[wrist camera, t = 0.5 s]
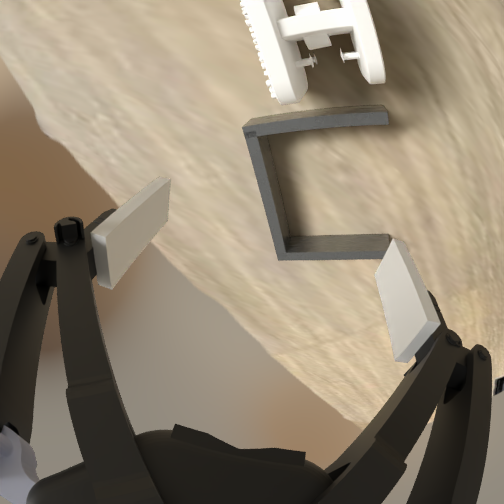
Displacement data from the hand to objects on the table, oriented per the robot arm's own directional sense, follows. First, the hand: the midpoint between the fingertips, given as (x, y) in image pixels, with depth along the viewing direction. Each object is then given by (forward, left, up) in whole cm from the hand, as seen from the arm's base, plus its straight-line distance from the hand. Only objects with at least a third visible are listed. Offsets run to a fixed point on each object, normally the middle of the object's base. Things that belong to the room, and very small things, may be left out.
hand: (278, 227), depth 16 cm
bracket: (0, +9, -24) cm, 25 cm away
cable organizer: (-3, -12, -24) cm, 27 cm away
